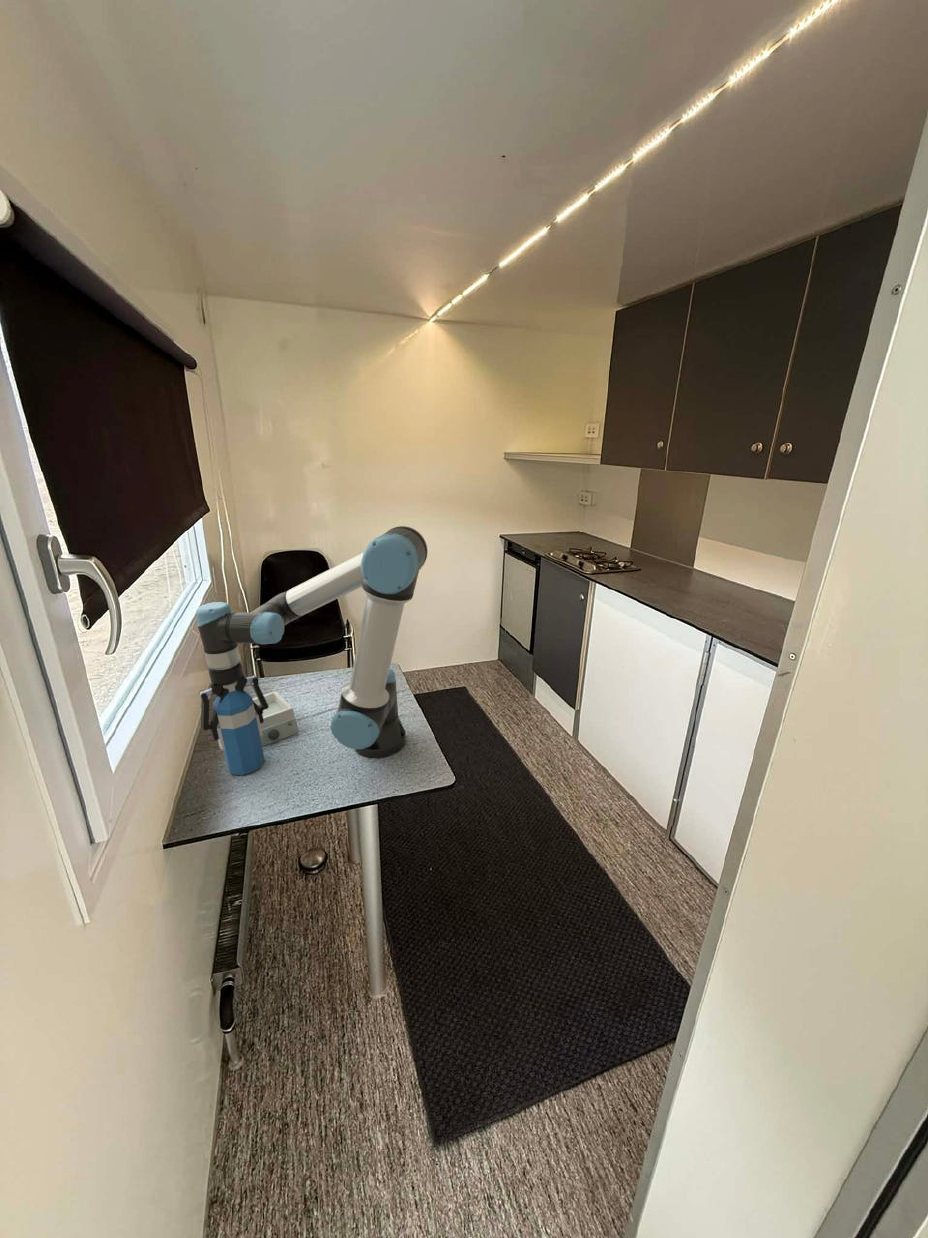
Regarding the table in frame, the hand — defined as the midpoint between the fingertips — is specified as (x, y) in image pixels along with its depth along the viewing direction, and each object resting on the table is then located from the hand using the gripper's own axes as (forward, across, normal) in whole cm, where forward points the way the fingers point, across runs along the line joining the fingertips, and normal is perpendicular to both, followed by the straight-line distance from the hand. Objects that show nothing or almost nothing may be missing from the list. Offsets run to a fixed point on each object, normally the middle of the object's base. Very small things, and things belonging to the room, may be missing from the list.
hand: (241, 741), depth 126 cm
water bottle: (+8, 0, 0) cm, 8 cm away
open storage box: (+8, -10, -14) cm, 19 cm away
